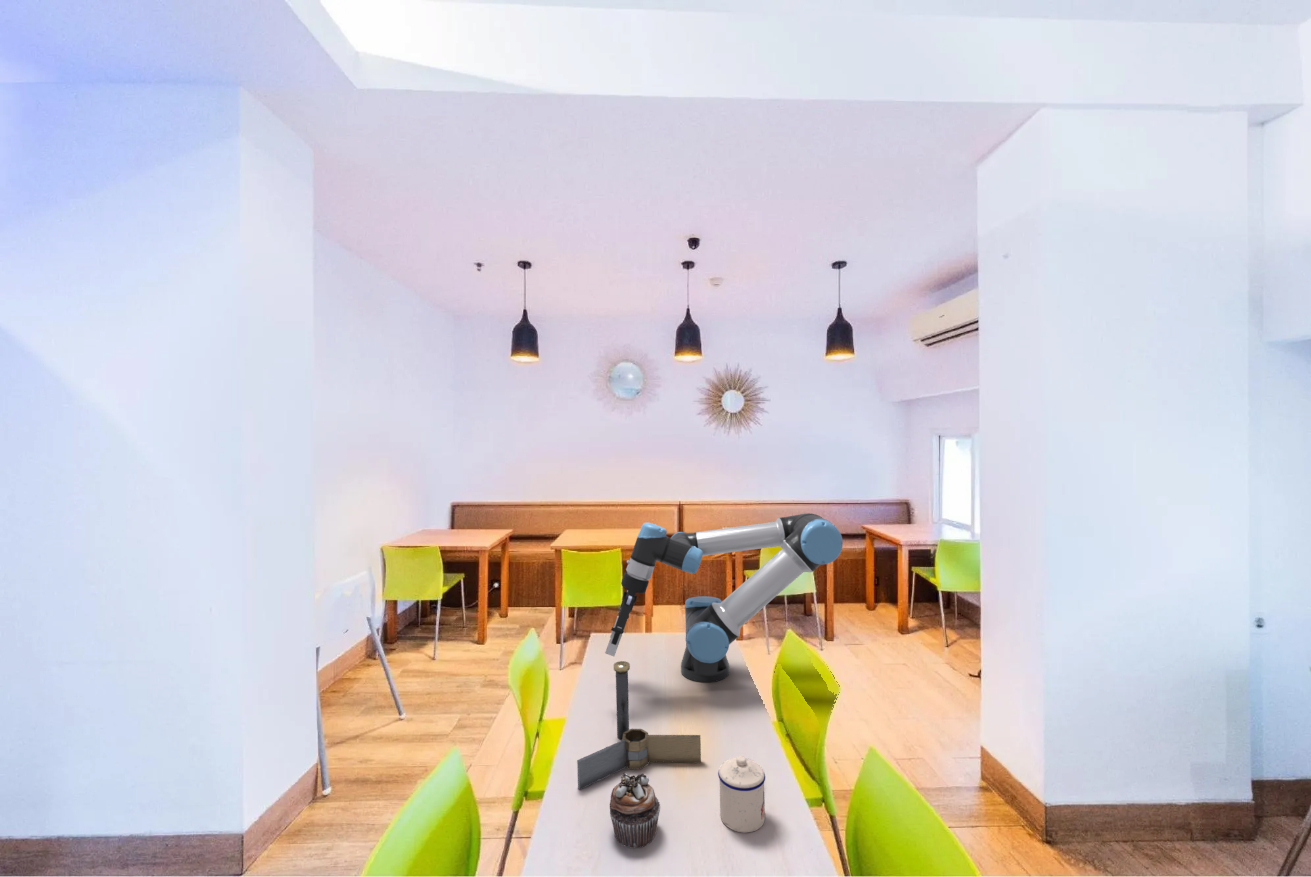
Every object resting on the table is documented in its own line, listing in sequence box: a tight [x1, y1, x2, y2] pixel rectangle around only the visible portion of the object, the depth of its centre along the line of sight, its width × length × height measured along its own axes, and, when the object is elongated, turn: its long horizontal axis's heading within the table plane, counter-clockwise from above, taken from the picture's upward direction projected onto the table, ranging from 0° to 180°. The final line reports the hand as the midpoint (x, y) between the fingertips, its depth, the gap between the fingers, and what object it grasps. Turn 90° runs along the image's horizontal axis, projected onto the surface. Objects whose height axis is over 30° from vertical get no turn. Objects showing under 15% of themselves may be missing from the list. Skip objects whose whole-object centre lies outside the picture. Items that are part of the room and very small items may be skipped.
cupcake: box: [609, 771, 661, 849], centre depth 101 cm, size 10×10×10 cm
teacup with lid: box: [717, 755, 766, 833], centre depth 106 cm, size 12×9×12 cm
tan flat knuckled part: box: [621, 728, 702, 770], centre depth 123 cm, size 18×6×6 cm, turn 87°
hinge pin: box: [613, 660, 631, 741], centre depth 133 cm, size 4×4×18 cm
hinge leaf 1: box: [576, 738, 648, 790], centre depth 119 cm, size 18×6×6 cm, turn 127°
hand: (612, 646), depth 153 cm, fingers open, 13 cm apart
